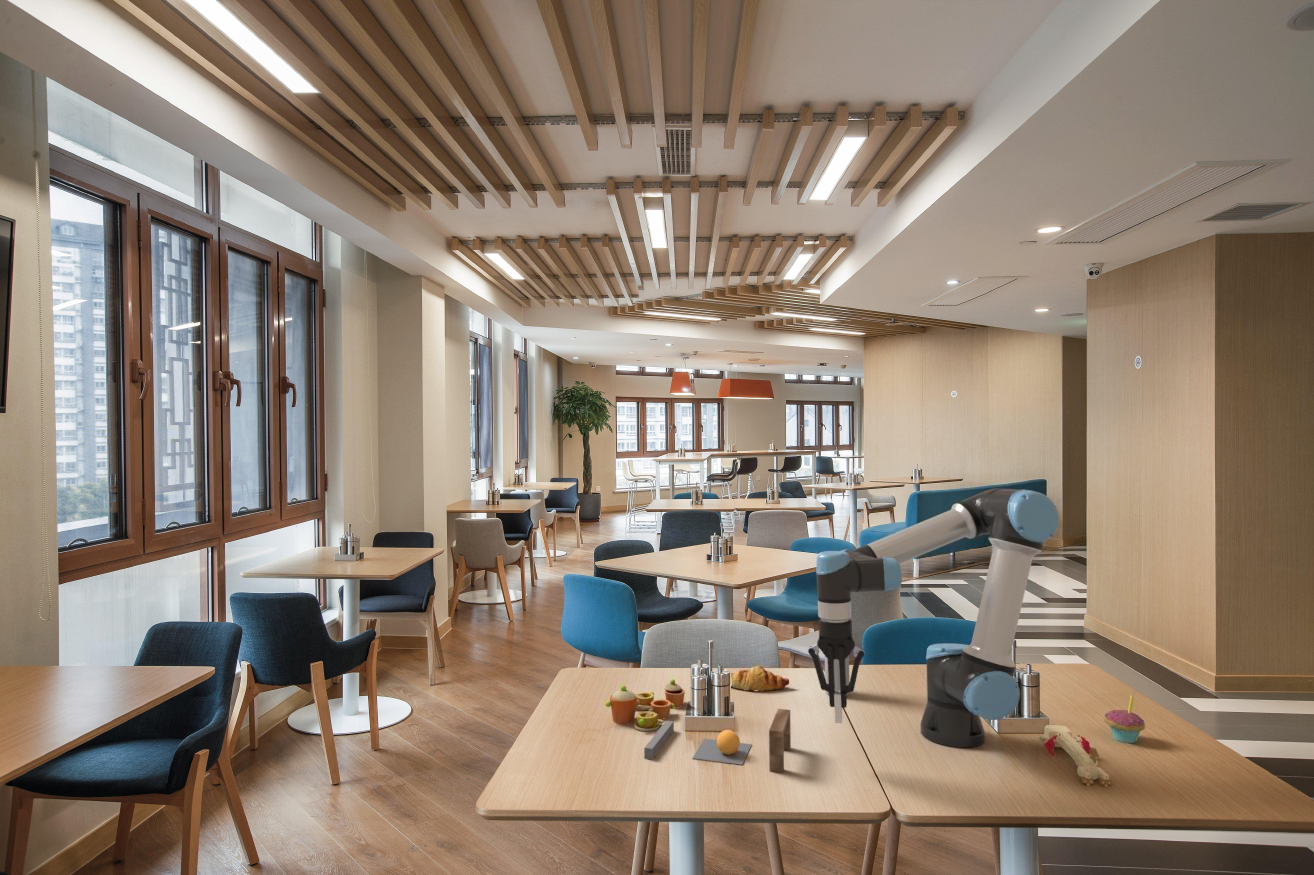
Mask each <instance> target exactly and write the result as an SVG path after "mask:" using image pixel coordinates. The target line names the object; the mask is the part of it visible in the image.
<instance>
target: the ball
mask: <svg viewBox="0 0 1314 875" xmlns="http://www.w3.org/2000/svg"><path fill="white" fill-rule="evenodd" d="M716 740H717V746H718V748H719V750H720V751H721V752H722V753H724V754H726V755H731V754H734V753H735V752H736V751H737V750H738V748H739V746H740V743H741V741H740V737H739V735H738V734H737V733H736V732H735V731H733V730H732V729H725V730H722V731H721V732H720V733H719V734H718V736H717V739H716Z"/></svg>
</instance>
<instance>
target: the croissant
mask: <svg viewBox="0 0 1314 875" xmlns="http://www.w3.org/2000/svg"><path fill="white" fill-rule="evenodd" d="M730 674H731V678H732V687H731V688H734V689H737V688H738V690H741V689H745V690H758V691H757V692H764V690H766V691H775V689H776V690H781V689H783V688H784V687H787V686H789V684H790V680H789V678H788V677H783V676H782V675H779V674H774V673H773V672H772V671H769V670H767V669H765V668H764V667H763V666H760V665H755V666H753V667H750V669H741V670H738V671H737V672H733V673H730ZM745 690H744V691H745Z"/></svg>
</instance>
